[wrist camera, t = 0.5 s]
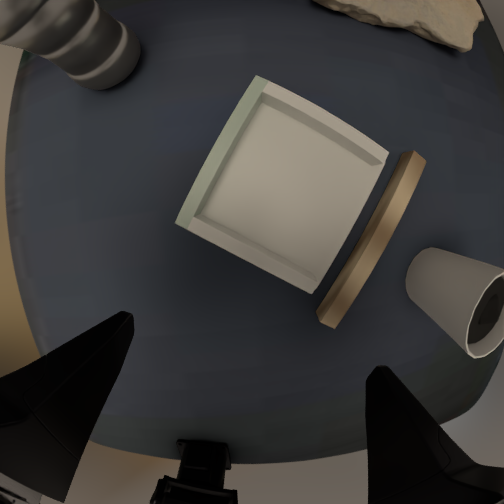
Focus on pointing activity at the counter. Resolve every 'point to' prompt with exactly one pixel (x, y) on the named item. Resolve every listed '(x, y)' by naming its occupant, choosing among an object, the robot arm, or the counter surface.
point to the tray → (283, 185)
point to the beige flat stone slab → (418, 17)
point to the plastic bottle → (72, 38)
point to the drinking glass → (460, 297)
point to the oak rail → (372, 239)
